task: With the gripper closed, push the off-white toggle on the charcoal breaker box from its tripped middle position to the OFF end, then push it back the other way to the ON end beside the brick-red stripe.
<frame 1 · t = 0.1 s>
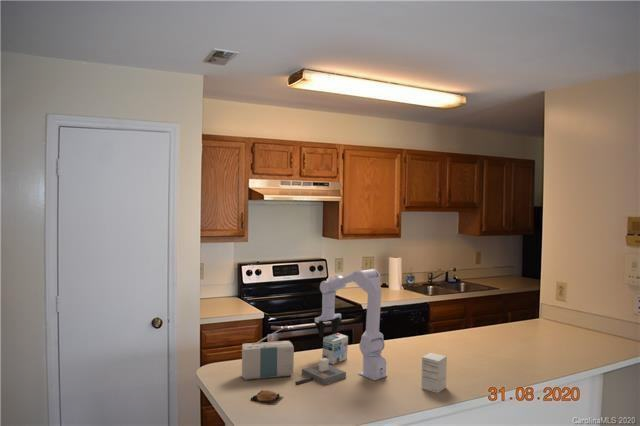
hand: (327, 335, 225), 10 cm above the counter, tool pointing down, fingers open, 7 cm apart
bread roll: (266, 401, 179), on the counter
breaker box: (323, 376, 202), on the counter
stereo radio cassette player: (267, 376, 202), on the counter
supplement box: (433, 388, 191), on the counter
breaker toggle: (323, 364, 202), point 5 cm above the counter, slide at 0.0 cm
power cord: (304, 382, 195), on the counter
light bulb box: (334, 360, 222), on the counter
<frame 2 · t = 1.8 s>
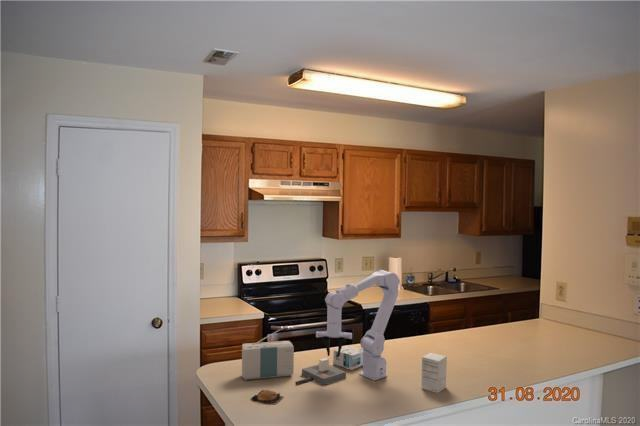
hand: (333, 355, 197), 10 cm above the counter, tool pointing down, fingers open, 3 cm apart
light bulb box: (340, 354, 220), point 3 cm above the counter
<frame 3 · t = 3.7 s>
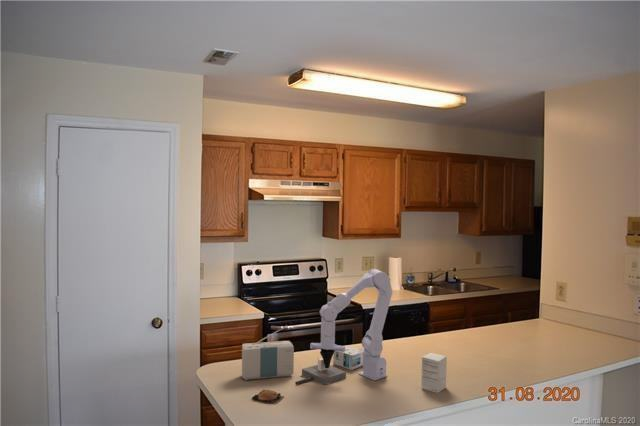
hand: (327, 367, 200), 4 cm above the counter, tool pointing down, fingers closed
breaker toggle: (322, 364, 202), point 5 cm above the counter, slide at 0.8 cm, touching gripper
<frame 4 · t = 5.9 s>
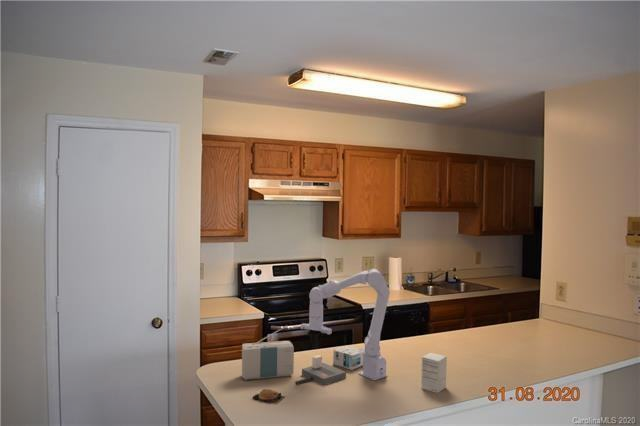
hand: (315, 348, 206), 11 cm above the counter, tool pointing down, fingers closed
breaker toggle: (317, 361, 205), point 5 cm above the counter, slide at 4.4 cm
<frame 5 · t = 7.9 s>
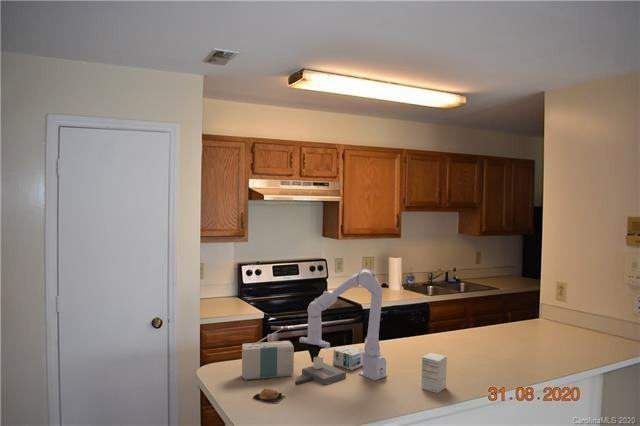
hand: (314, 361, 207), 4 cm above the counter, tool pointing down, fingers closed
breaker toggle: (318, 362, 204), point 5 cm above the counter, slide at 3.6 cm, touching gripper
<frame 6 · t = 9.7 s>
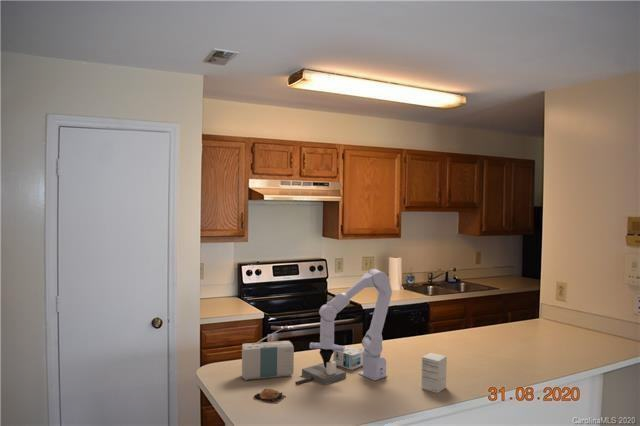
hand: (326, 367, 200), 4 cm above the counter, tool pointing down, fingers closed
breaker toggle: (331, 367, 198), point 5 cm above the counter, slide at -4.7 cm, touching gripper
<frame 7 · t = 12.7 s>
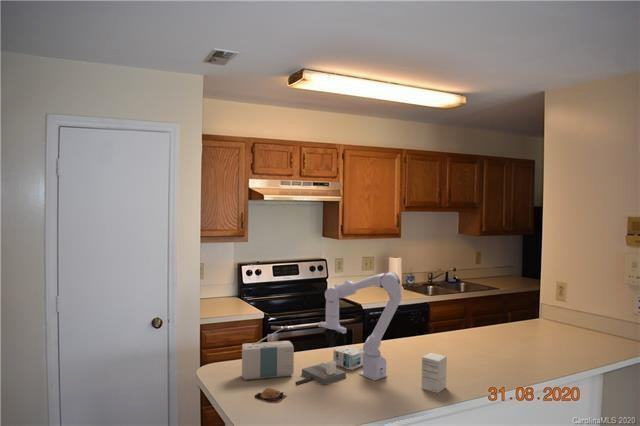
hand: (331, 346, 208), 10 cm above the counter, tool pointing down, fingers closed
breaker toggle: (331, 367, 198), point 5 cm above the counter, slide at -4.6 cm
at the end: breaker toggle slide at -4.6 cm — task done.
